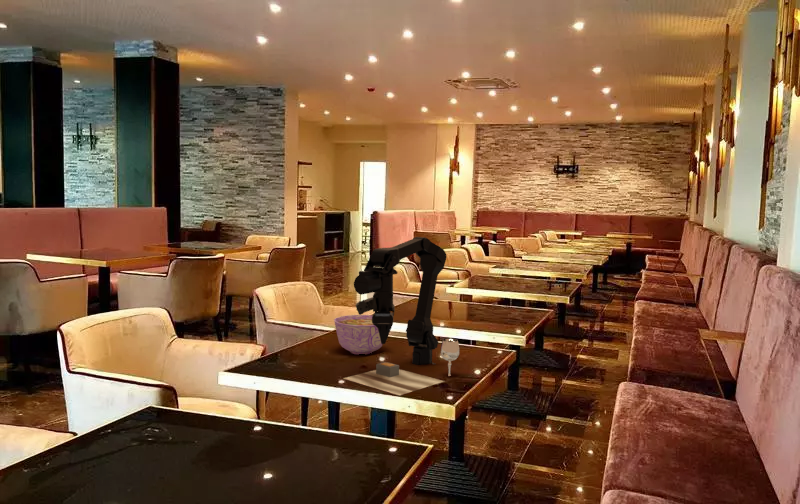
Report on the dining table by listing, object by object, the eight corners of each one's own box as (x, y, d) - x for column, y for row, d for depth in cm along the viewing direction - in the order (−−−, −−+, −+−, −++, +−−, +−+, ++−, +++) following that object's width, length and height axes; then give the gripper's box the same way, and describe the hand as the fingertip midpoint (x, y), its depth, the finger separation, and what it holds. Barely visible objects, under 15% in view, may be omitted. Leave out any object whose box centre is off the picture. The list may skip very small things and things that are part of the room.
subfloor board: (388, 369, 211) (389, 366, 211) (444, 384, 196) (444, 381, 196) (343, 381, 197) (343, 378, 196) (399, 398, 181) (399, 395, 181)
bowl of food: (388, 359, 224) (389, 326, 223) (330, 358, 224) (330, 324, 223) (390, 346, 244) (390, 315, 243) (336, 344, 244) (337, 314, 243)
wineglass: (457, 381, 199) (458, 343, 198) (438, 380, 200) (439, 341, 199) (459, 376, 204) (460, 339, 203) (441, 375, 206) (442, 337, 205)
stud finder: (384, 371, 206) (385, 361, 205) (399, 374, 201) (399, 364, 201) (376, 373, 203) (376, 363, 202) (390, 377, 199) (390, 367, 198)
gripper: (359, 285, 209) (360, 332, 211) (354, 295, 190) (355, 347, 192) (394, 285, 209) (394, 332, 210) (392, 295, 190) (393, 348, 192)
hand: (383, 340), depth 201 cm, fingers open, 9 cm apart
